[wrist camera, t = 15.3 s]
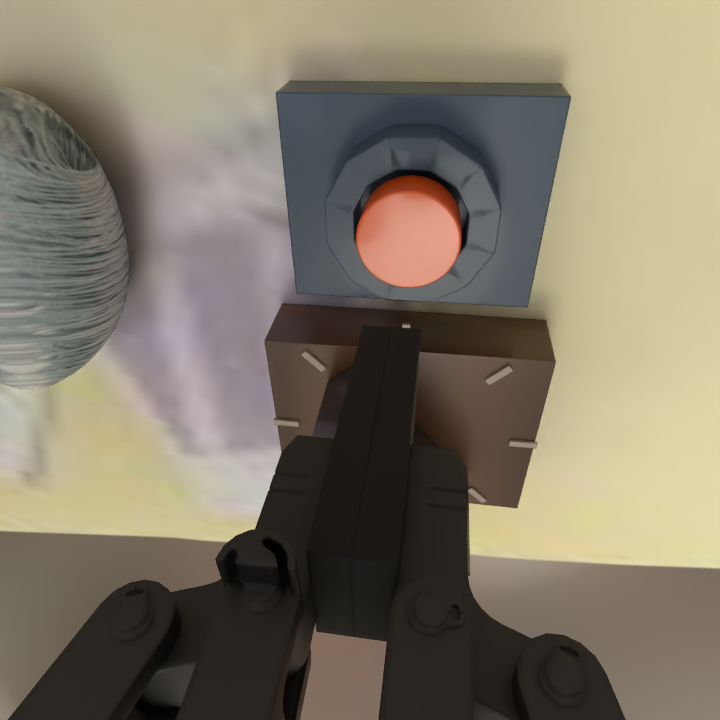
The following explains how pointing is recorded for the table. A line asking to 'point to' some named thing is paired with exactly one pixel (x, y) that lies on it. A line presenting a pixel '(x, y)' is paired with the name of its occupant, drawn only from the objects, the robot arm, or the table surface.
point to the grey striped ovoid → (54, 247)
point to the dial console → (429, 383)
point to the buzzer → (428, 159)
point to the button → (409, 231)
